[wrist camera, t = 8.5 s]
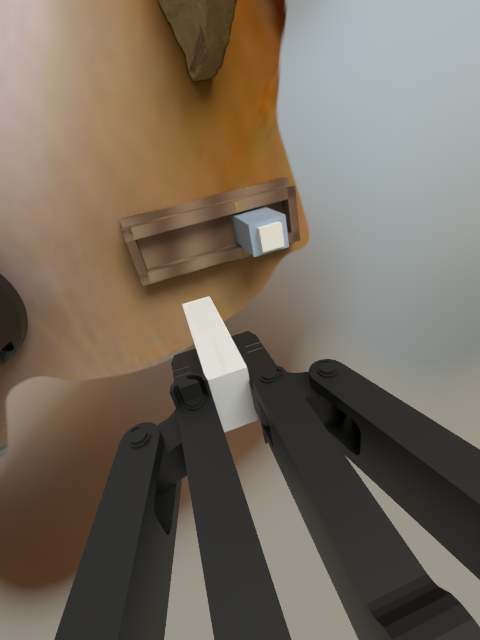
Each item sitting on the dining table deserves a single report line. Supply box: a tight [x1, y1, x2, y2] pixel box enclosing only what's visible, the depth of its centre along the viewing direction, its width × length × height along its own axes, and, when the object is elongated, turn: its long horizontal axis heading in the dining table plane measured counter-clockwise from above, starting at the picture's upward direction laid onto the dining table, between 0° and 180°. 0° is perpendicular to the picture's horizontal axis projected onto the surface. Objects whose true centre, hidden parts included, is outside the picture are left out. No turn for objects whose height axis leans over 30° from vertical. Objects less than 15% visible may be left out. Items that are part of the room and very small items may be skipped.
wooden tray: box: [120, 177, 300, 286], centre depth 37 cm, size 20×8×3 cm, turn 102°
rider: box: [231, 206, 289, 257], centre depth 34 cm, size 4×3×8 cm
